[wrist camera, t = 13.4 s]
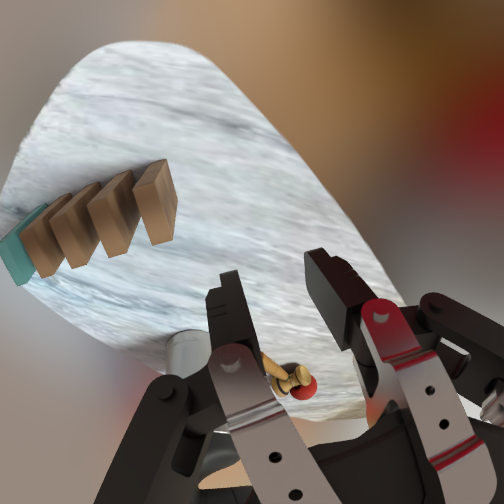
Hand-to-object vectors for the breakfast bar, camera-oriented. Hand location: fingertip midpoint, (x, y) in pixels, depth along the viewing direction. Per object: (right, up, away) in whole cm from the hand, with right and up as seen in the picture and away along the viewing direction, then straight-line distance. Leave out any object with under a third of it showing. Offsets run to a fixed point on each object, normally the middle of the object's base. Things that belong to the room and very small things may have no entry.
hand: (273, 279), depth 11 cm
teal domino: (-27, +5, +16) cm, 31 cm away
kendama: (+5, -22, +40) cm, 46 cm away
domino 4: (-11, +9, +17) cm, 22 cm away
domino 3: (-15, +8, +17) cm, 24 cm away
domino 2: (-19, +7, +17) cm, 26 cm away
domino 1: (-23, +6, +16) cm, 28 cm away
